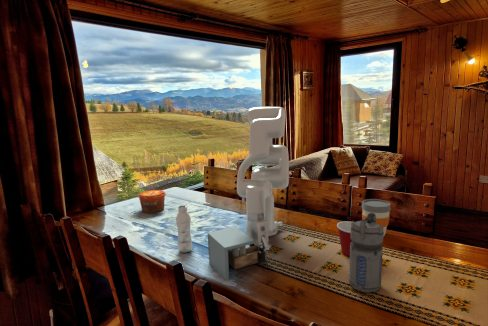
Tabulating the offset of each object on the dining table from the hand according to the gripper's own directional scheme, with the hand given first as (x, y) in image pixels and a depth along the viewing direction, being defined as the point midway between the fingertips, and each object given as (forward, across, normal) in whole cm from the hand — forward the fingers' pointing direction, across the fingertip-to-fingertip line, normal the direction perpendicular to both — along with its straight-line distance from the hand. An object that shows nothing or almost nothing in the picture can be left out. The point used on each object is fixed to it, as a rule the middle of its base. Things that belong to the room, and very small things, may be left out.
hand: (257, 257), depth 134 cm
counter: (+1, 0, +12) cm, 12 cm away
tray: (+1, 0, +4) cm, 5 cm away
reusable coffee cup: (+1, -6, -60) cm, 61 cm away
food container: (+1, +88, +22) cm, 91 cm away
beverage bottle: (+1, -35, -22) cm, 42 cm away
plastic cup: (+1, -15, -35) cm, 39 cm away
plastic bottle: (+1, +23, +23) cm, 32 cm away
